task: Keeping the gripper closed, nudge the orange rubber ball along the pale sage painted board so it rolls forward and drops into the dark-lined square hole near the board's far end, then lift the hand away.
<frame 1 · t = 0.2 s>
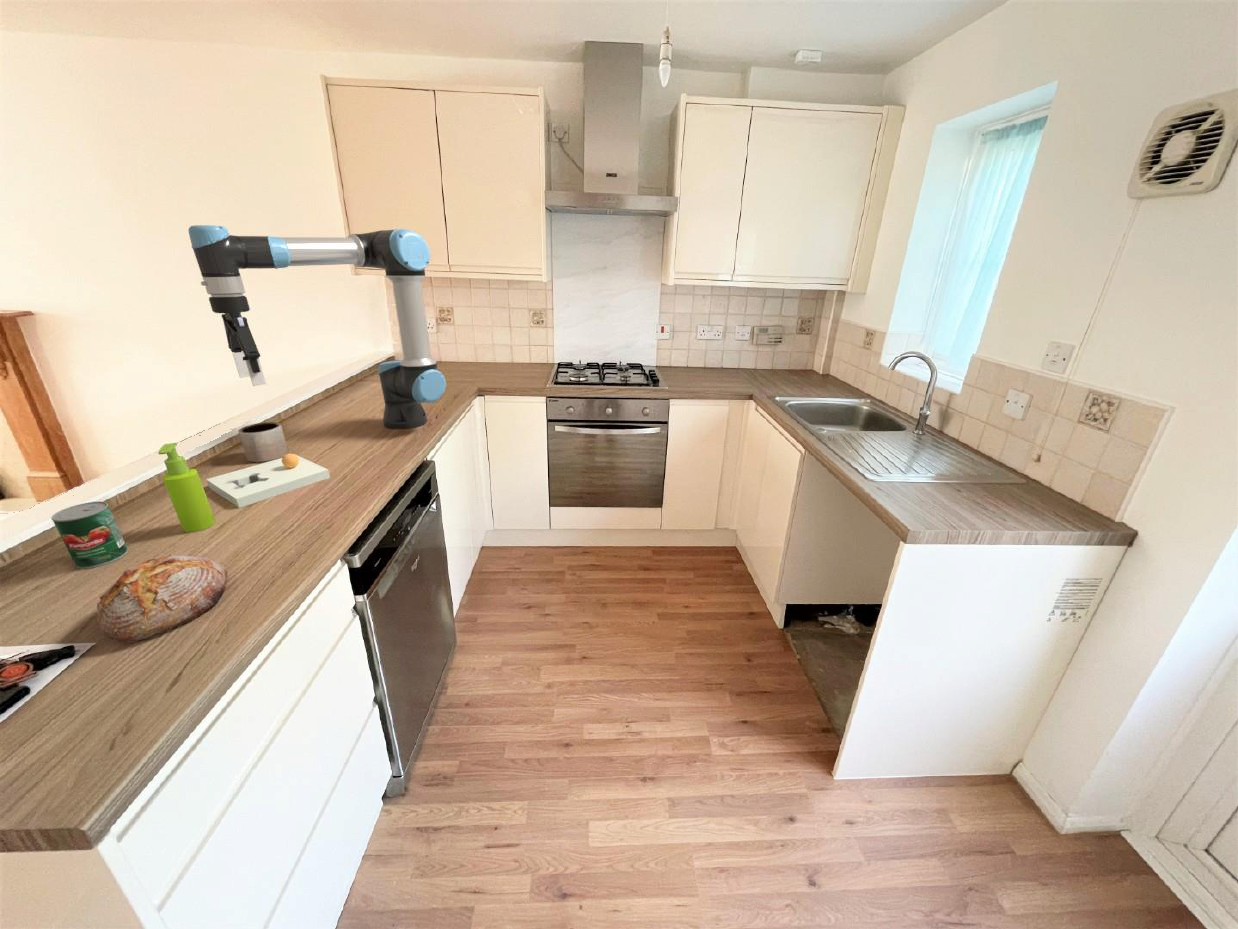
hand: (252, 380, 129), 27 cm above the countertop, fingers open, 13 cm apart
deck: (271, 482, 135), on the countertop
bread: (172, 608, 87), on the countertop
canned tomato: (103, 558, 101), on the countertop
soap dispenser: (199, 527, 113), on the countertop
planter: (268, 457, 152), on the countertop
ball: (290, 460, 137), point 4 cm above the countertop, touching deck
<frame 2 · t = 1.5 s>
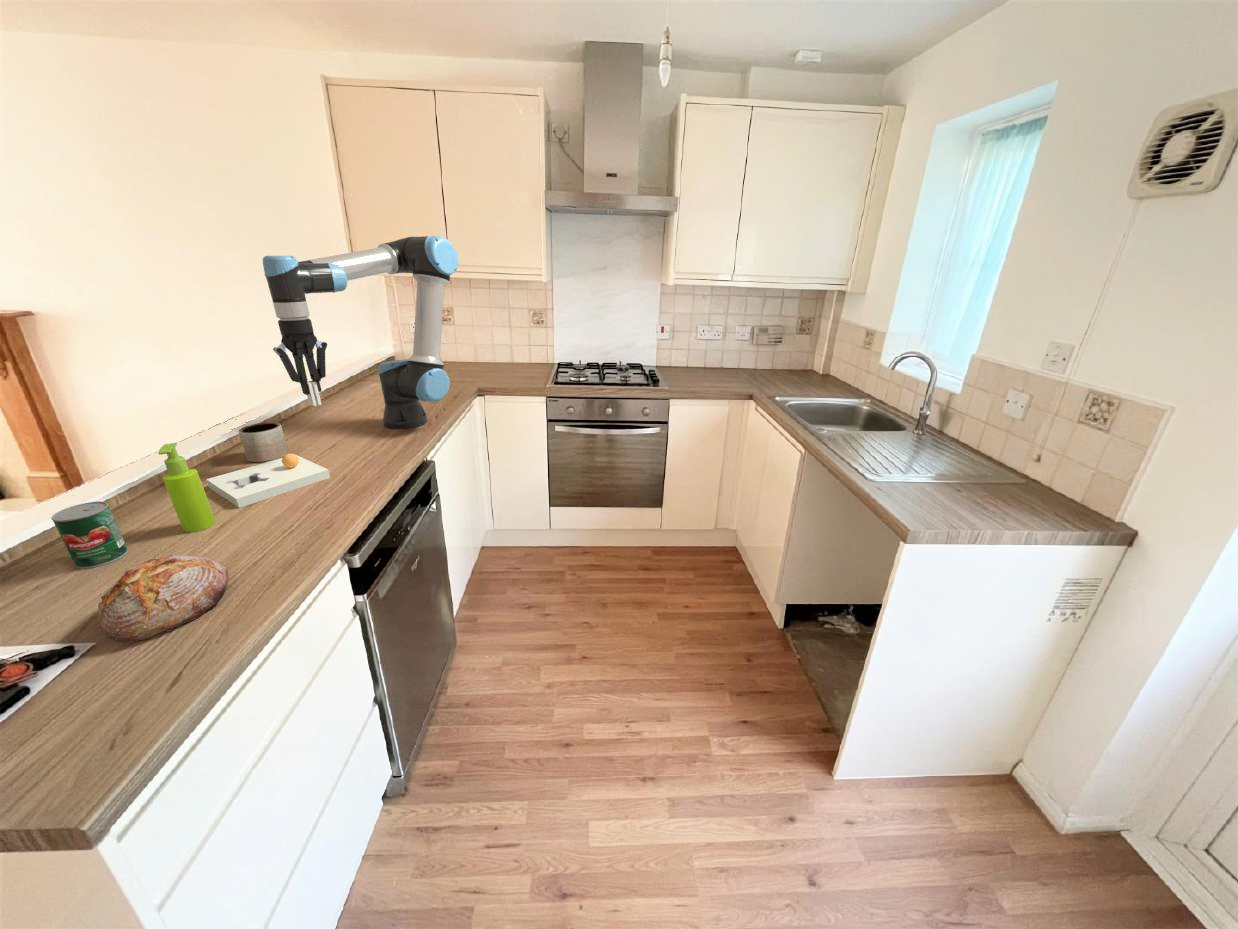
hand: (315, 404, 139), 18 cm above the countertop, fingers closed
nothing on the countertop moved.
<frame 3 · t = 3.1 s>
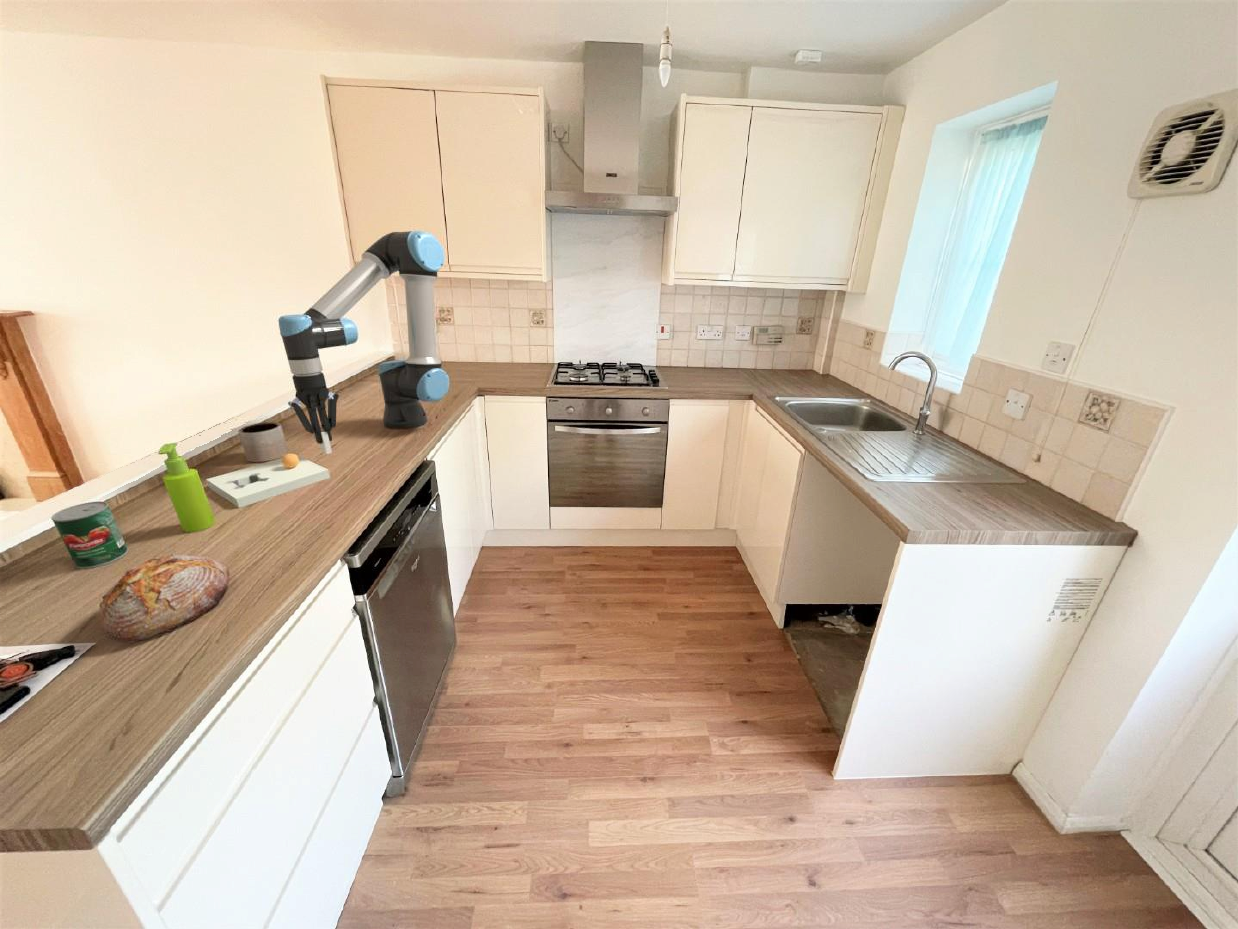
hand: (327, 452, 145), 4 cm above the countertop, fingers closed
nothing on the countertop moved.
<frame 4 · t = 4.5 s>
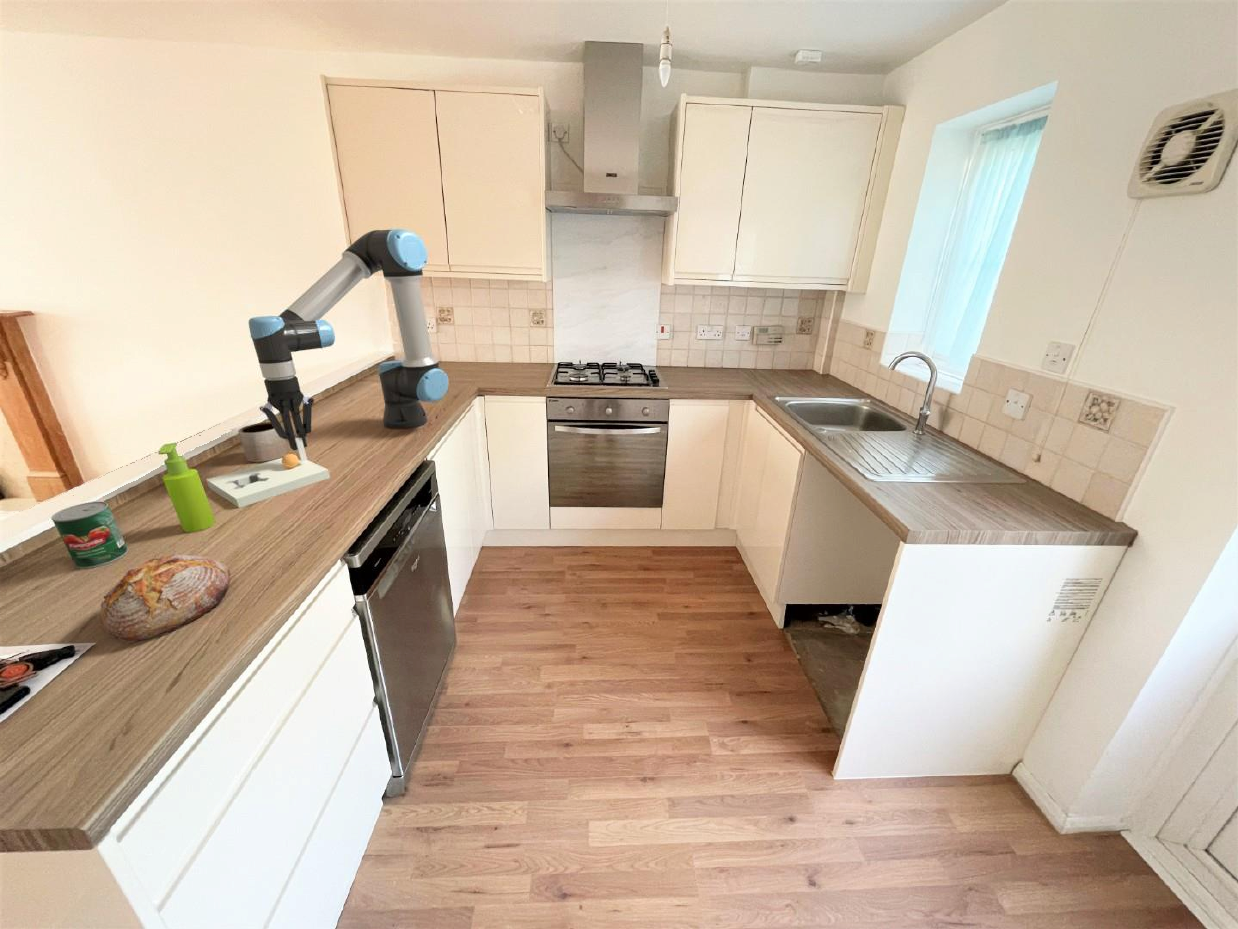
hand: (302, 459, 140), 4 cm above the countertop, fingers closed
nothing on the countertop moved.
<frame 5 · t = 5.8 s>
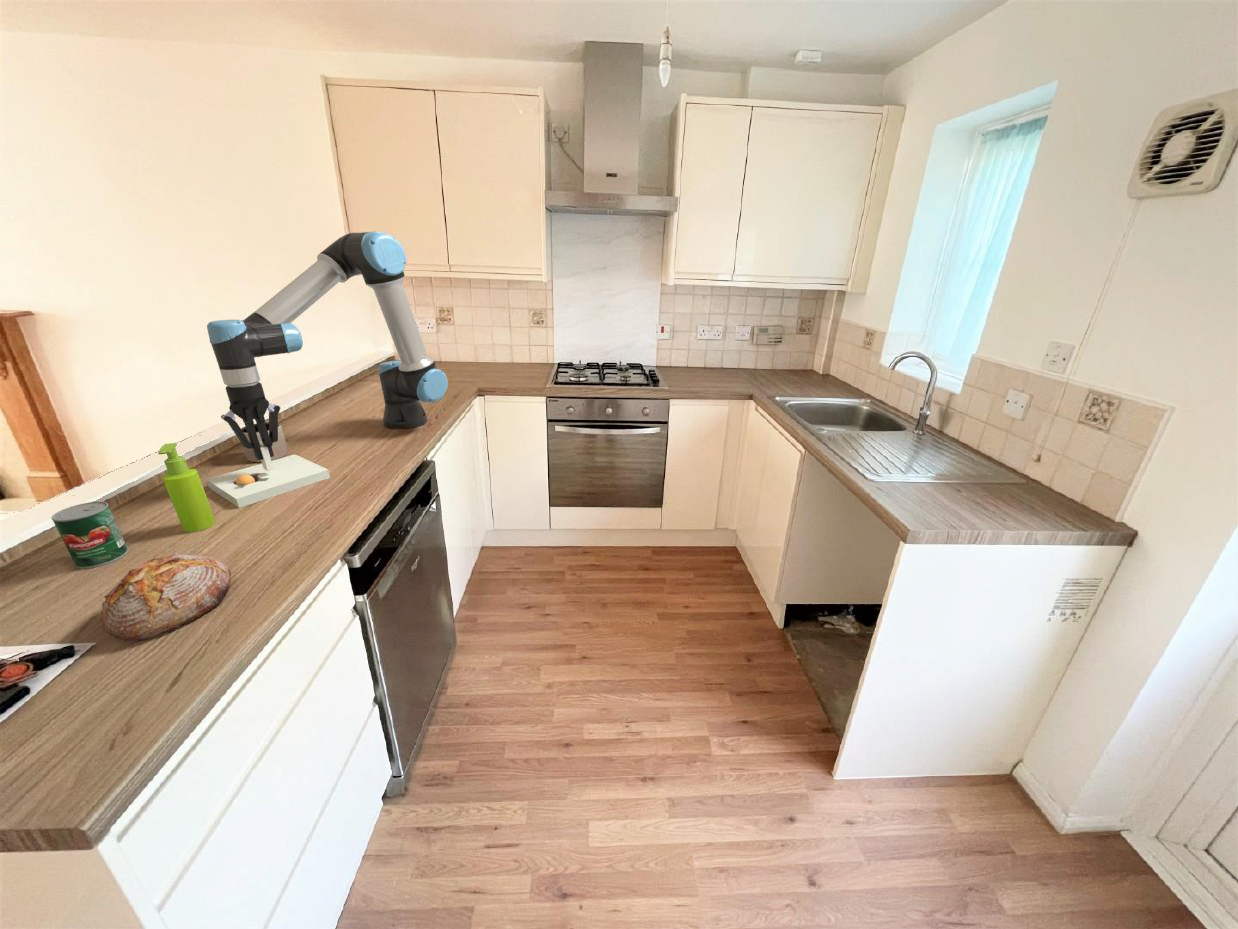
hand: (268, 469, 133), 4 cm above the countertop, fingers closed
ball: (245, 482, 130), point 2 cm above the countertop, tilted 13°, touching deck
everything else where it was.
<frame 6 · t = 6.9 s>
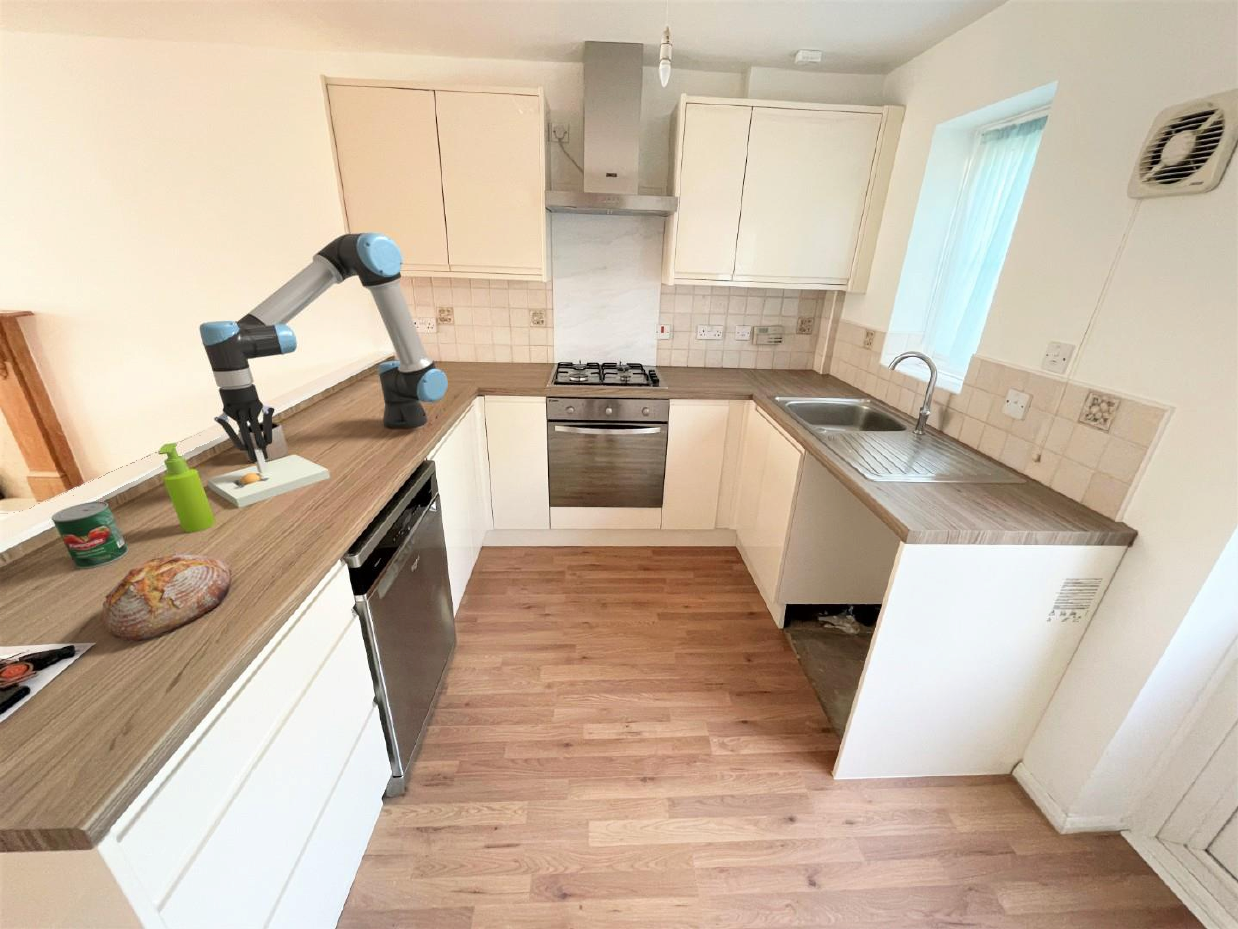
hand: (263, 471, 132), 4 cm above the countertop, fingers closed
ball: (251, 480, 130), point 2 cm above the countertop, tilted 50°, touching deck
everything else where it was.
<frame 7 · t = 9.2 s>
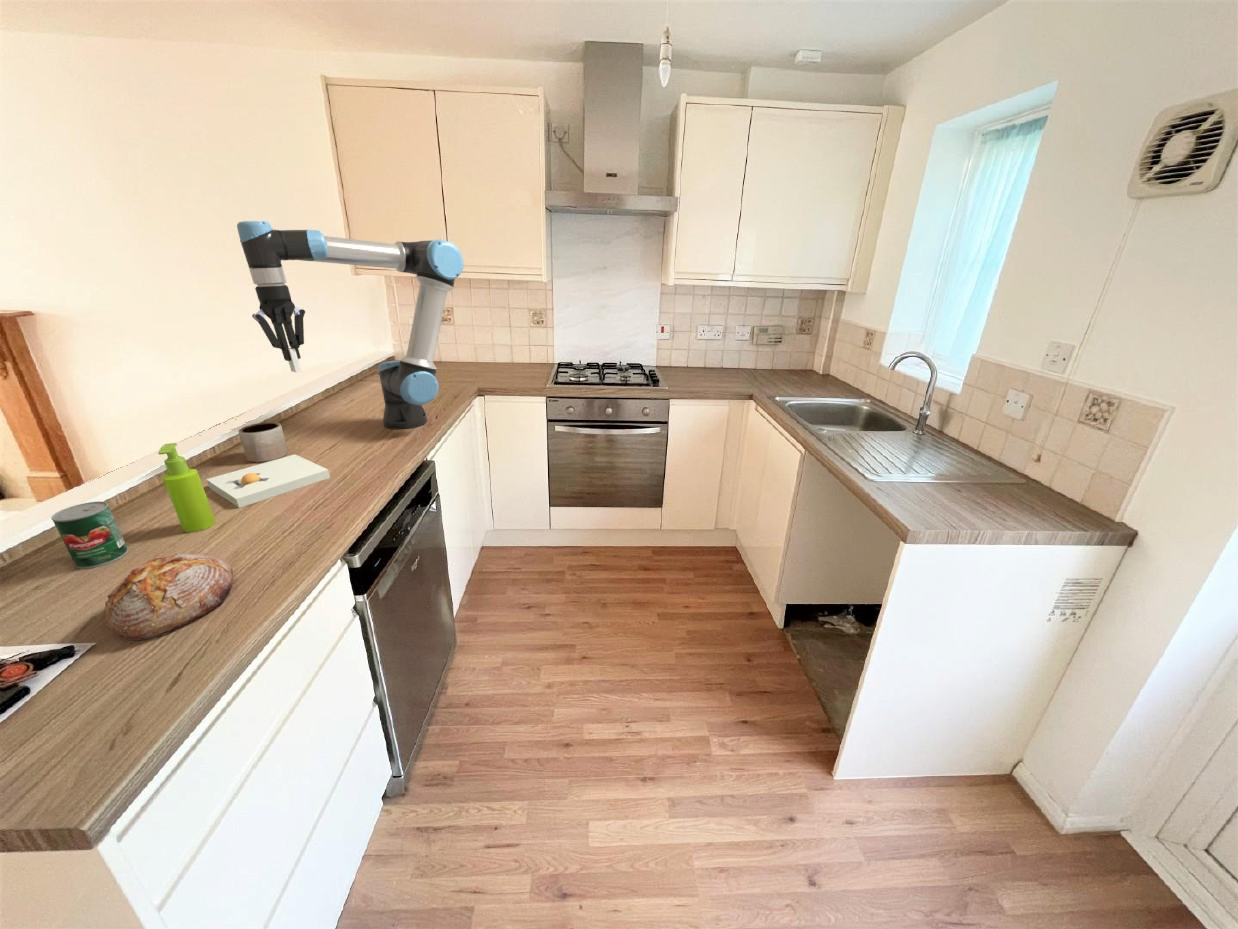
hand: (296, 371, 142), 27 cm above the countertop, fingers closed
nothing on the countertop moved.
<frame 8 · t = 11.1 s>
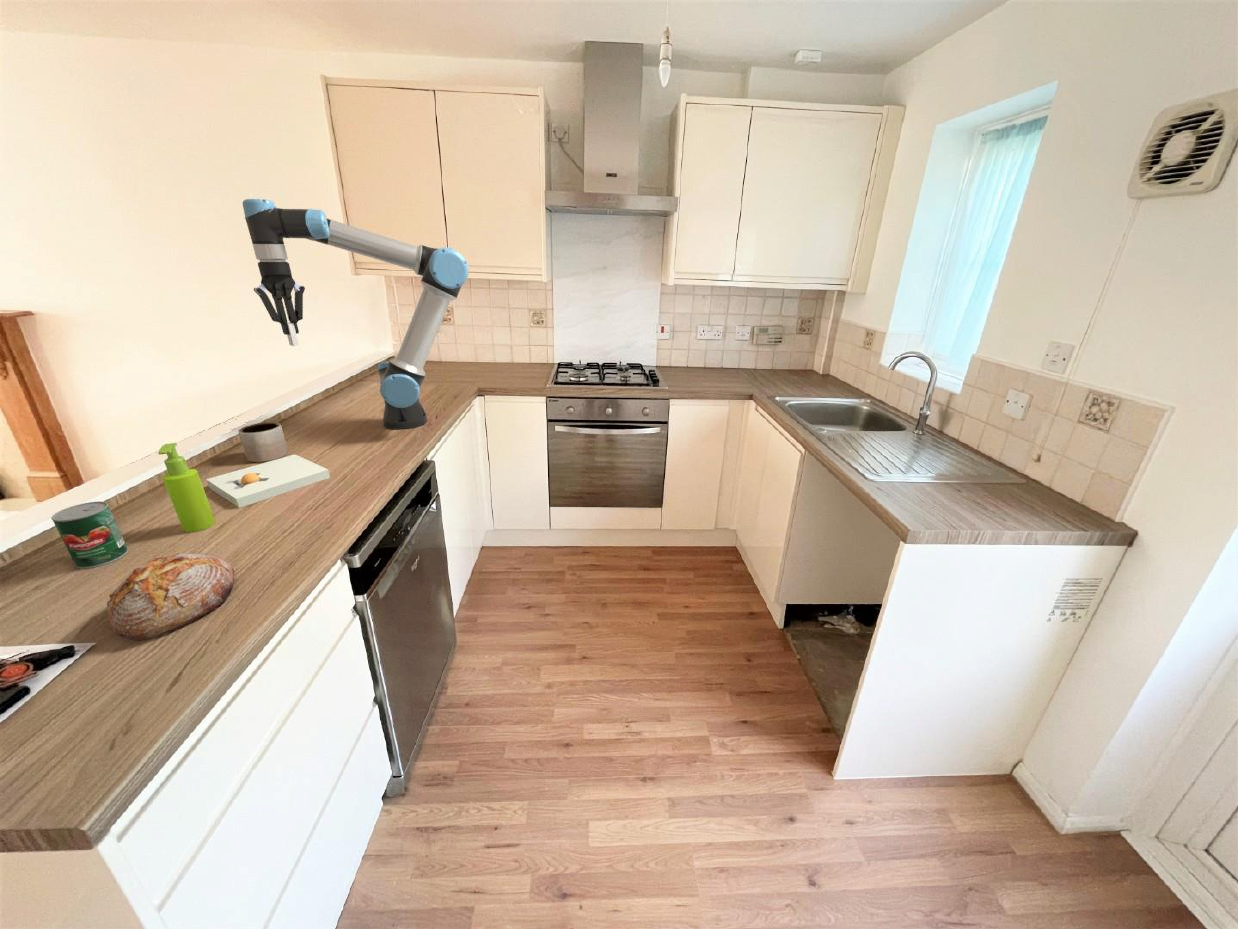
hand: (294, 345, 149), 32 cm above the countertop, fingers closed
at the end: ball 0.6 cm from the target spot on the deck, point 2.3 cm above the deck's base; ball moved 10.6 cm from its start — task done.
